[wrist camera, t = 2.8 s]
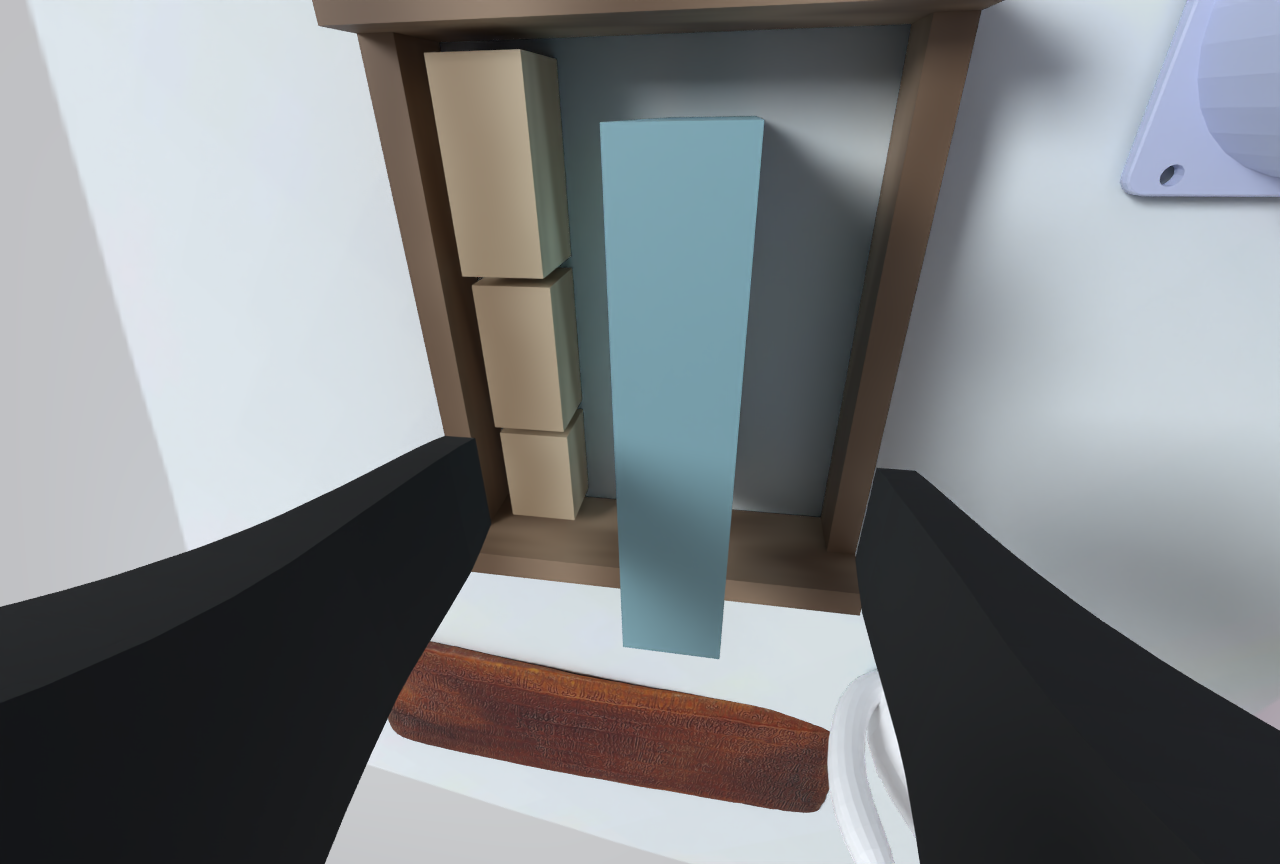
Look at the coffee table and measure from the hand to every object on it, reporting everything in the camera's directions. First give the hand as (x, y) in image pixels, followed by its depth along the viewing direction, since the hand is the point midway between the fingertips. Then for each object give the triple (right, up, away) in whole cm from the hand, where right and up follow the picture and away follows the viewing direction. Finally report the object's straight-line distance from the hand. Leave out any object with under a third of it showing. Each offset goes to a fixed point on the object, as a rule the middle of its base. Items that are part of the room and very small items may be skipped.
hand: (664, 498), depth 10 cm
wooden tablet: (-3, -16, +23) cm, 27 cm away
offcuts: (-4, +6, +10) cm, 12 cm away
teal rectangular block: (+2, +5, +9) cm, 10 cm away
